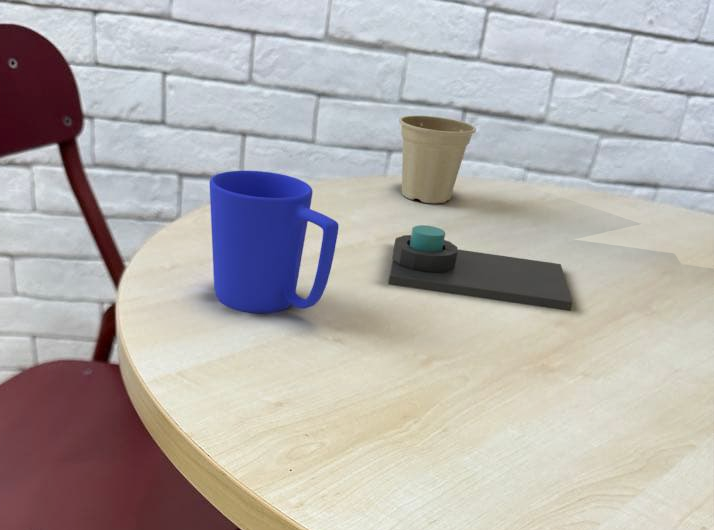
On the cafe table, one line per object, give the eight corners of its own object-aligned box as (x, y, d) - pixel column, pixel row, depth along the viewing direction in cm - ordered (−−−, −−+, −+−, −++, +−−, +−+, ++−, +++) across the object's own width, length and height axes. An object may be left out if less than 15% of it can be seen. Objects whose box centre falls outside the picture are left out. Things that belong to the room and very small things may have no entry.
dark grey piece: (557, 277, 87) (565, 248, 86) (568, 316, 78) (578, 285, 77) (393, 253, 88) (398, 224, 86) (386, 290, 79) (391, 258, 78)
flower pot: (372, 190, 108) (383, 116, 103) (422, 183, 113) (434, 112, 108) (427, 211, 102) (440, 134, 97) (476, 203, 108) (492, 129, 103)
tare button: (442, 246, 83) (445, 227, 82) (441, 256, 81) (445, 237, 80) (410, 241, 83) (413, 223, 82) (408, 251, 81) (411, 232, 80)
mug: (287, 348, 67) (299, 218, 61) (186, 299, 73) (187, 177, 67) (354, 325, 72) (370, 203, 66) (254, 281, 78) (261, 165, 72)
